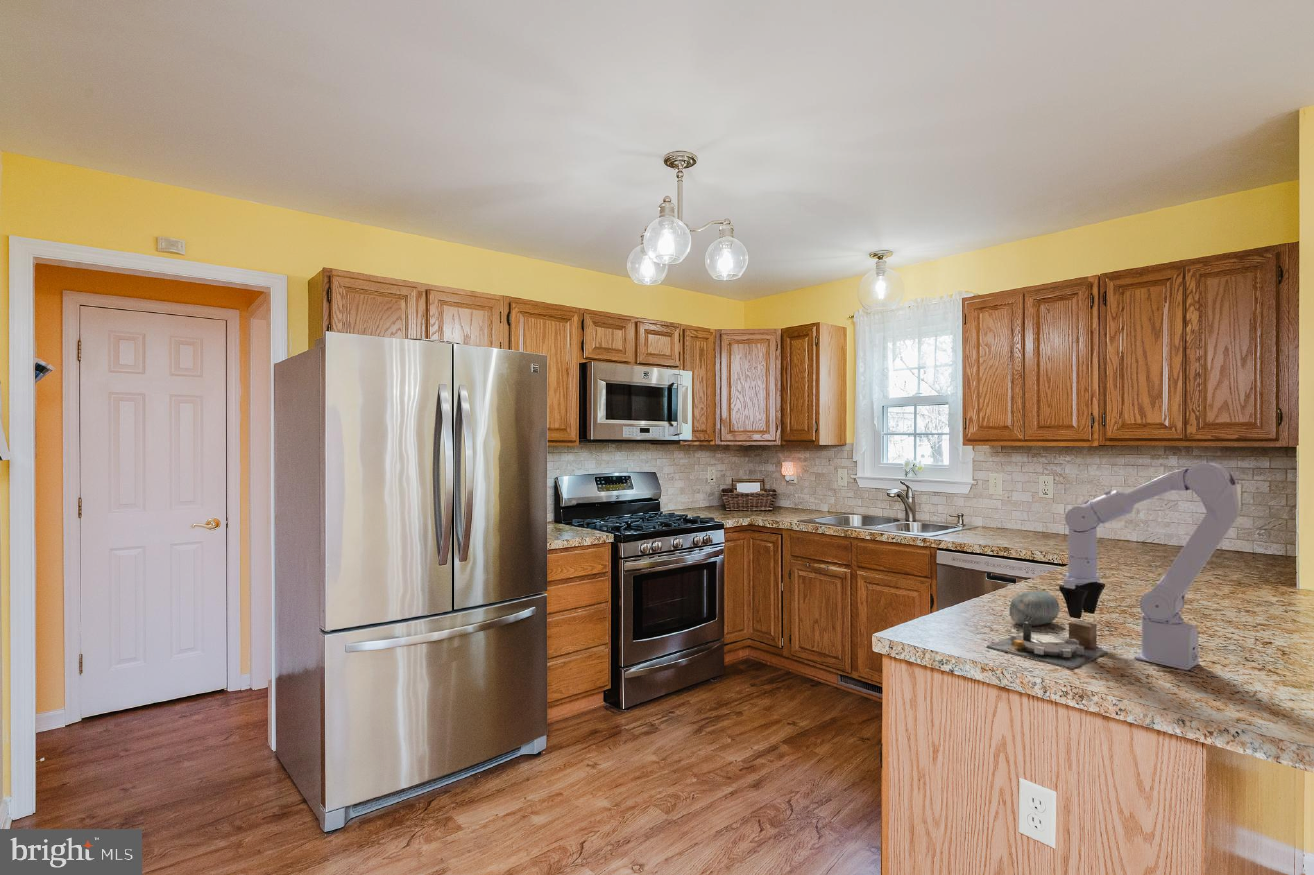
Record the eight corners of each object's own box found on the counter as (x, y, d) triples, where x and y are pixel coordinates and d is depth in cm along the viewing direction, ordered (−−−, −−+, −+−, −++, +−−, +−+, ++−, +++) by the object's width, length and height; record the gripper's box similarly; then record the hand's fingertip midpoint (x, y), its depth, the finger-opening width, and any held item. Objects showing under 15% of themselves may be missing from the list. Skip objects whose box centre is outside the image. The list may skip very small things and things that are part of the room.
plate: (1107, 653, 148) (1107, 650, 148) (1072, 669, 137) (1072, 667, 137) (1024, 634, 162) (1024, 631, 162) (986, 647, 152) (986, 645, 152)
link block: (1096, 645, 153) (1096, 624, 153) (1090, 648, 151) (1090, 626, 151) (1075, 641, 157) (1075, 620, 157) (1068, 643, 155) (1068, 622, 155)
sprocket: (1055, 637, 157) (1055, 613, 157) (1098, 656, 143) (1098, 631, 143) (998, 638, 157) (998, 614, 157) (1035, 658, 142) (1035, 632, 142)
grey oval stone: (1031, 602, 181) (1041, 575, 176) (1063, 626, 173) (1074, 598, 168) (995, 619, 176) (1004, 591, 171) (1026, 644, 168) (1036, 615, 163)
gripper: (1077, 551, 162) (1076, 607, 162) (1049, 557, 153) (1049, 616, 153) (1109, 556, 156) (1109, 613, 156) (1083, 562, 148) (1083, 623, 148)
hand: (1082, 615), depth 154 cm, fingers open, 7 cm apart
